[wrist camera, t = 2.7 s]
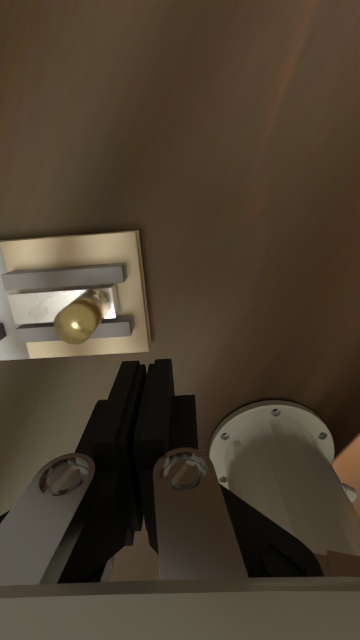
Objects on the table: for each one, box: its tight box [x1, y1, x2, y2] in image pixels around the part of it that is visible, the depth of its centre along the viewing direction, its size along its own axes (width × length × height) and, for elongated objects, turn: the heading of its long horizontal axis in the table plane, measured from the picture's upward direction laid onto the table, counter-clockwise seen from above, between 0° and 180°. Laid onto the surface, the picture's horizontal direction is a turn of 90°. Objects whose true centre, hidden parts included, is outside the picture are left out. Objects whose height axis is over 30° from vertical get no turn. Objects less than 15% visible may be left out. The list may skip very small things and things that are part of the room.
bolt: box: [7, 283, 120, 345], centre depth 23 cm, size 8×2×6 cm, turn 94°
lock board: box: [0, 230, 151, 360], centre depth 26 cm, size 21×10×4 cm, turn 94°
